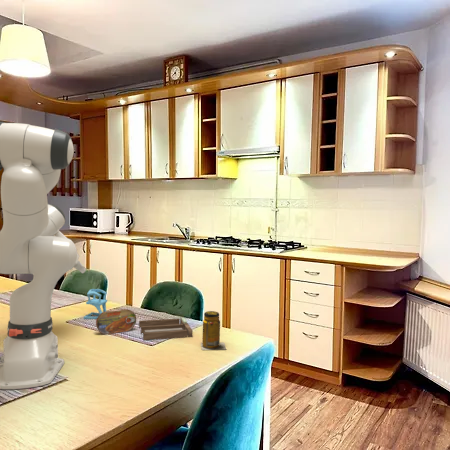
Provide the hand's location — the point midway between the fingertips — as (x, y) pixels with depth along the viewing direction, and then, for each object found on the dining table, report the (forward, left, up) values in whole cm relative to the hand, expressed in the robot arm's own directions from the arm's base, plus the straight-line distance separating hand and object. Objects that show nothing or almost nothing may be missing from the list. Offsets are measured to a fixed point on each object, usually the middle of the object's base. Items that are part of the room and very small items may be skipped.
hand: (84, 271), depth 155 cm
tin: (0, -12, -24) cm, 26 cm away
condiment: (-23, -44, -24) cm, 55 cm away
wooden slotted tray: (-4, -29, -23) cm, 37 cm away
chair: (+21, -5, -24) cm, 32 cm away
